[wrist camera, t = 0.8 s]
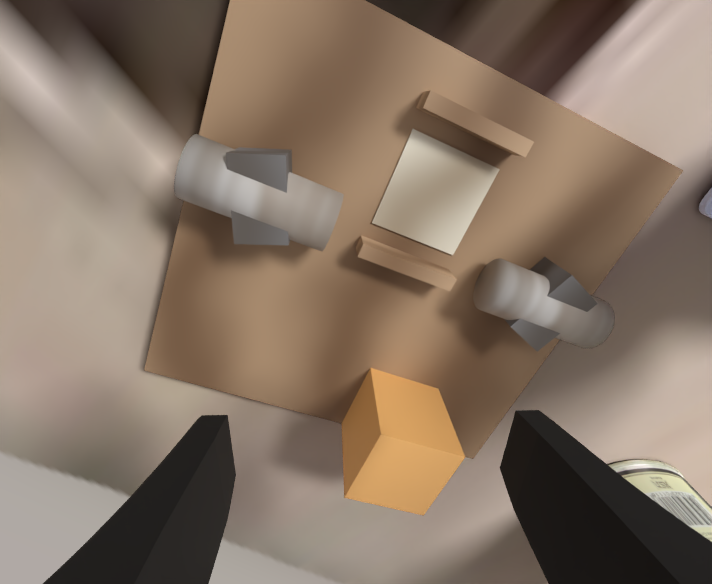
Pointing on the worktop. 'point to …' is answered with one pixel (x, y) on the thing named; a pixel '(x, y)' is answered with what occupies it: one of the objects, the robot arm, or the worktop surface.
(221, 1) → the worktop surface
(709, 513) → the coffee can
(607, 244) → the jig
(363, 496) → the light orange cube
